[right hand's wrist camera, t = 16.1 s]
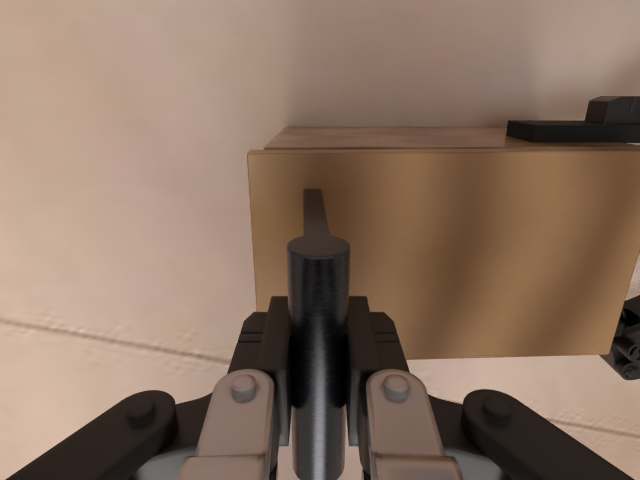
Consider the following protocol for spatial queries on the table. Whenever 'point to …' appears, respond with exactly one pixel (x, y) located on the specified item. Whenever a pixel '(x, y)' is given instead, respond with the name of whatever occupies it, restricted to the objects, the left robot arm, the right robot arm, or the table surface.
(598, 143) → the wooden box
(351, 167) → the lid
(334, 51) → the table surface
